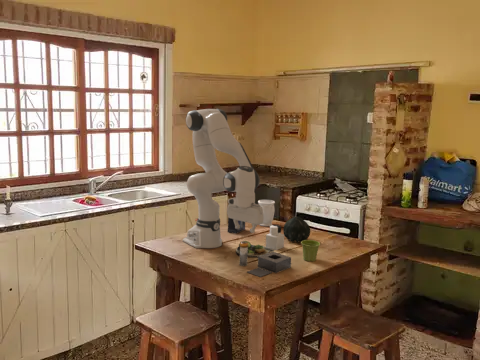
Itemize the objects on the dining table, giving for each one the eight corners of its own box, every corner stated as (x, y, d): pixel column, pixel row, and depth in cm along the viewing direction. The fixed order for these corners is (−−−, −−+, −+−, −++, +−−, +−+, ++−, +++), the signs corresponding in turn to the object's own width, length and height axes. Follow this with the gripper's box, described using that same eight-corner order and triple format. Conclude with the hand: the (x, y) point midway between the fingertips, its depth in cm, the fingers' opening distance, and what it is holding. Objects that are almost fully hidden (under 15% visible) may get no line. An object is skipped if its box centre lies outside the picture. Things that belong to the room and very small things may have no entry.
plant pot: (323, 260, 238) (324, 243, 236) (311, 264, 231) (312, 246, 230) (308, 255, 244) (309, 238, 243) (296, 259, 238) (297, 242, 236)
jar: (277, 225, 300) (278, 201, 297) (265, 227, 293) (266, 203, 290) (265, 221, 307) (265, 198, 305) (253, 224, 300) (254, 200, 297)
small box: (236, 234, 278) (237, 216, 276) (227, 232, 281) (227, 214, 279) (245, 230, 287) (246, 212, 285) (236, 228, 290) (236, 211, 288)
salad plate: (275, 249, 254) (276, 240, 253) (272, 260, 236) (273, 251, 236) (239, 246, 257) (239, 237, 256) (233, 256, 239) (234, 248, 239)
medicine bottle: (273, 244, 260) (274, 223, 258) (284, 247, 256) (285, 225, 254) (265, 247, 255) (266, 225, 253) (276, 250, 250) (277, 228, 248)
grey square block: (257, 266, 225) (258, 256, 225) (272, 261, 233) (273, 251, 232) (275, 273, 218) (276, 262, 217) (290, 267, 226) (291, 257, 225)
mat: (247, 272, 218) (247, 271, 218) (258, 268, 224) (258, 267, 224) (260, 277, 213) (260, 276, 212) (271, 272, 218) (271, 272, 218)
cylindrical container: (237, 264, 228) (238, 242, 226) (243, 262, 230) (243, 240, 228) (243, 266, 225) (244, 244, 223) (248, 264, 228) (249, 242, 226)
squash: (301, 225, 279) (289, 208, 272) (319, 233, 267) (306, 215, 260) (286, 243, 276) (273, 227, 268) (303, 252, 264) (290, 234, 256)
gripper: (266, 204, 217) (266, 233, 220) (234, 197, 231) (234, 225, 233) (257, 206, 213) (256, 236, 215) (225, 199, 227) (224, 227, 229)
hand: (244, 230), depth 224 cm, fingers open, 8 cm apart
